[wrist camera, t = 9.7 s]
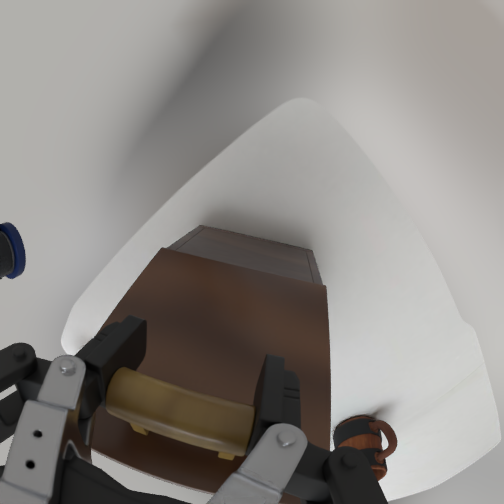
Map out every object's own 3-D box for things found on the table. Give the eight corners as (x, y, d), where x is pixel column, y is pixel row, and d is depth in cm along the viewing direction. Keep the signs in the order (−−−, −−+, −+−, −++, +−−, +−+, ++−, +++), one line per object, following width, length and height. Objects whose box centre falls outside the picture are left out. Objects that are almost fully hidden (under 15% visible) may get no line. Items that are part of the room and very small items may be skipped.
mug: (400, 409, 39) (416, 458, 28) (355, 444, 43) (363, 491, 32) (368, 397, 39) (382, 451, 28) (323, 435, 42) (326, 486, 31)
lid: (319, 507, 9) (379, 488, 6) (49, 425, 9) (-1, 369, 6) (323, 292, 23) (344, 237, 20) (161, 254, 23) (162, 196, 20)
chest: (280, 355, 38) (277, 412, 27) (185, 332, 39) (157, 381, 28) (312, 250, 33) (324, 287, 23) (200, 224, 34) (163, 249, 23)
